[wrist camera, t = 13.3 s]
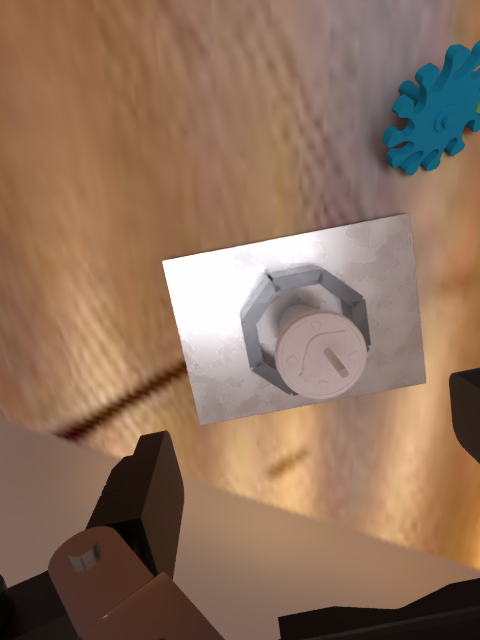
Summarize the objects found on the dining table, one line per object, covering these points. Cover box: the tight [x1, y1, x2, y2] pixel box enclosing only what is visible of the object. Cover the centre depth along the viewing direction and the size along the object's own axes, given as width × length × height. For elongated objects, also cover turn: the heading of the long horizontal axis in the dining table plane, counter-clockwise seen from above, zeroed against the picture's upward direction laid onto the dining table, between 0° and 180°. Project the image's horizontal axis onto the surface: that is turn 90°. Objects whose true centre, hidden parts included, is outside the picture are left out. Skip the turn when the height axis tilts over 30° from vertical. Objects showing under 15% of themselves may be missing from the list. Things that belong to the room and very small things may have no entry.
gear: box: [382, 40, 480, 175], centre depth 34 cm, size 11×6×10 cm
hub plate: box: [162, 213, 426, 425], centre depth 37 cm, size 16×22×5 cm
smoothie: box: [275, 304, 367, 399], centre depth 31 cm, size 6×6×14 cm
